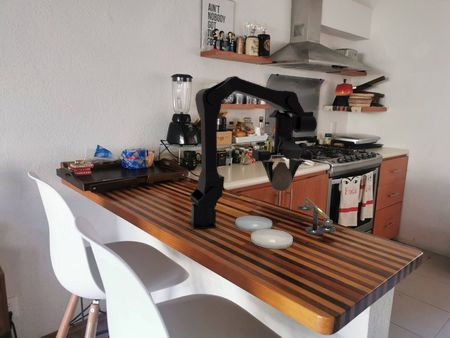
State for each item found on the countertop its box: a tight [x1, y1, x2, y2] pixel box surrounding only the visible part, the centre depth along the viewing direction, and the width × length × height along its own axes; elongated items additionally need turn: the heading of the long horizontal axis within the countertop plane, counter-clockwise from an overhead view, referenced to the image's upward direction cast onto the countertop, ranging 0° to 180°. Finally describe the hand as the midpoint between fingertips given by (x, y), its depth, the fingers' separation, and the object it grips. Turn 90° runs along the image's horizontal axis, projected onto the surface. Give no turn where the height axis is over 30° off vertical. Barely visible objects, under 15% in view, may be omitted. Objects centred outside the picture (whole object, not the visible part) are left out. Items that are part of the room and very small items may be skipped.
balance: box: [297, 196, 337, 236], centre depth 97 cm, size 16×5×9 cm, turn 18°
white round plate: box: [235, 215, 273, 233], centre depth 102 cm, size 11×11×1 cm
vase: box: [269, 161, 293, 192], centre depth 108 cm, size 7×7×9 cm
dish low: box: [250, 228, 294, 250], centre depth 90 cm, size 11×11×1 cm
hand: (280, 181), depth 108 cm, fingers closed on vase, 7 cm apart
